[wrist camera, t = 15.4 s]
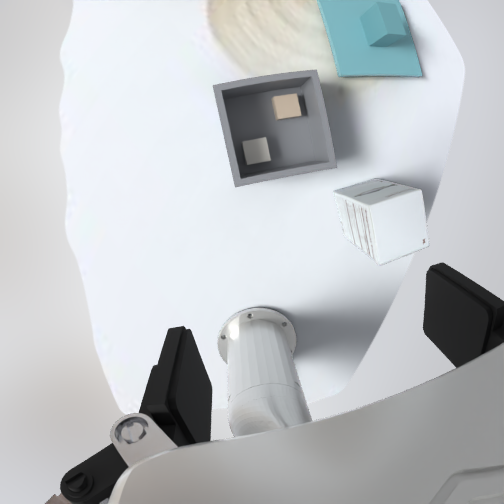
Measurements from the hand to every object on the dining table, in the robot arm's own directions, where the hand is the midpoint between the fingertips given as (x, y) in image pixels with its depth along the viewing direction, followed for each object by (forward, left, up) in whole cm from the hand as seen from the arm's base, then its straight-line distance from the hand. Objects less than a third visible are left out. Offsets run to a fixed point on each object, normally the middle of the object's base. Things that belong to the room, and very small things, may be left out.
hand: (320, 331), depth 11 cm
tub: (+9, -4, -32) cm, 34 cm away
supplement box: (-4, -15, -32) cm, 36 cm away
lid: (+22, -22, -32) cm, 45 cm away
